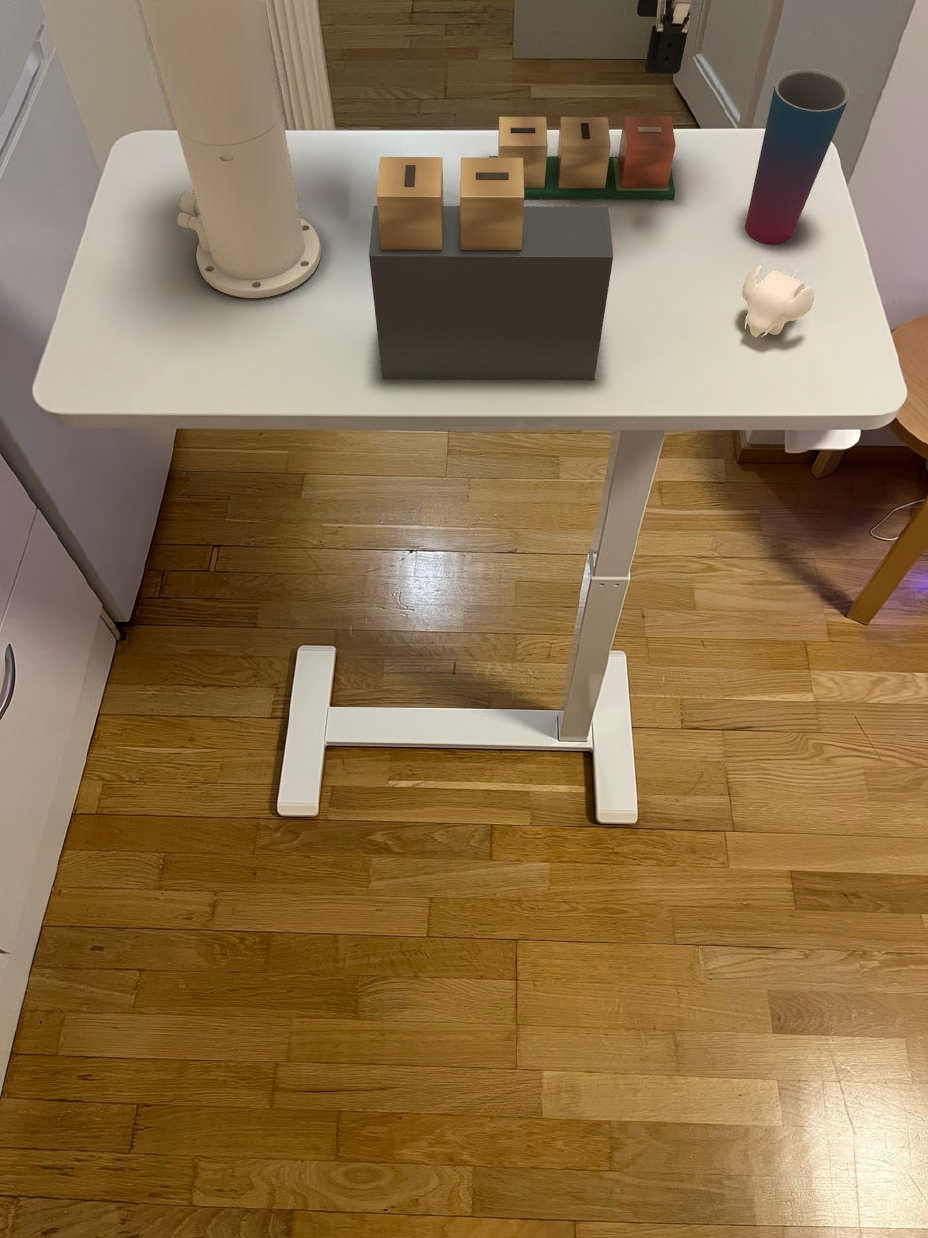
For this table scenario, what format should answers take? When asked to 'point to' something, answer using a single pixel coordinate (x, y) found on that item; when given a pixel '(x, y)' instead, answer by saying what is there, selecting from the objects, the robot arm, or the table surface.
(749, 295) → the elephant figurine
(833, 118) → the cup
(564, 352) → the near dark gray stand
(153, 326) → the table surface
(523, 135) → the green tile rack
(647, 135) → the slotted orange cube
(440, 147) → the table surface
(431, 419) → the table surface
